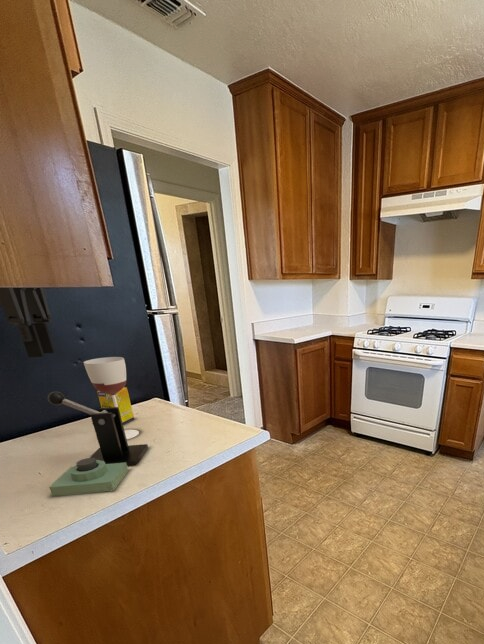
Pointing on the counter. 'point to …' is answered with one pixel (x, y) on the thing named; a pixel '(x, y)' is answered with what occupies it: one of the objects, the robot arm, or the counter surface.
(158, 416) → the counter surface
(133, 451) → the bracket
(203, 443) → the counter surface
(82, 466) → the button
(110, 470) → the button box
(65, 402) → the lever
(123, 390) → the supplement box
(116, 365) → the wineglass
